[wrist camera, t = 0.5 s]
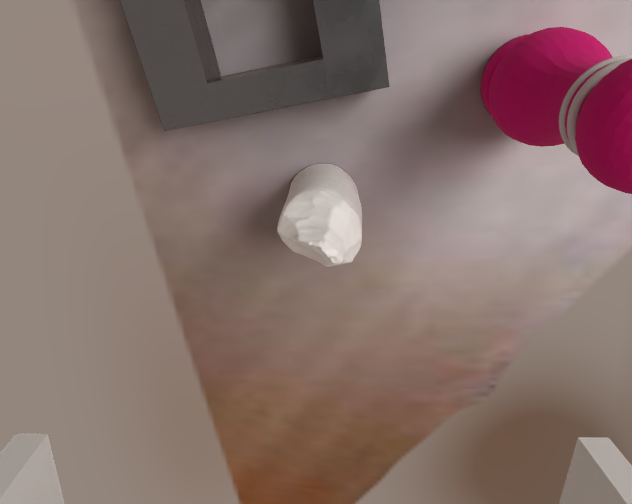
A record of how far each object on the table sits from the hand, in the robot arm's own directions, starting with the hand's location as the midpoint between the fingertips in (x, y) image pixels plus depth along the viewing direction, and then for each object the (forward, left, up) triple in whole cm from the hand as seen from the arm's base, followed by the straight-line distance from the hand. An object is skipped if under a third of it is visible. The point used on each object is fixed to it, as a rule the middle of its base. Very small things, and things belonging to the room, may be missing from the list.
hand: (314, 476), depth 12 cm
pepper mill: (-15, -3, -29) cm, 33 cm away
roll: (+1, +2, -29) cm, 29 cm away
